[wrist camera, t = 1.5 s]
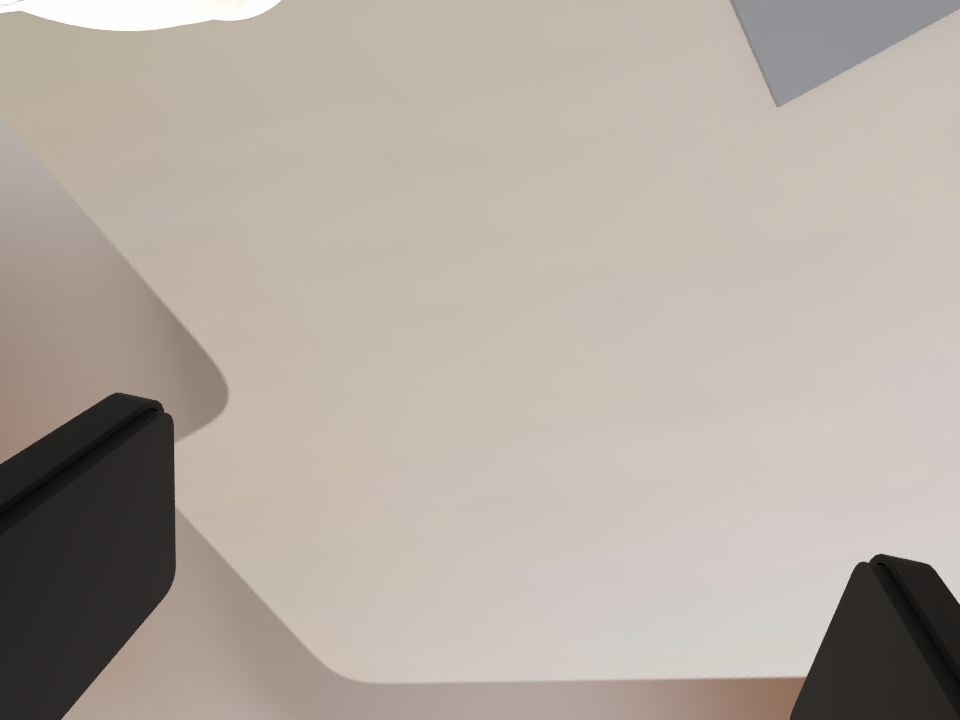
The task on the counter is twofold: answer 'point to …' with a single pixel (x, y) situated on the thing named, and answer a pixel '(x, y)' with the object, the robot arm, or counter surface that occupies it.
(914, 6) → the grey mat
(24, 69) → the counter surface
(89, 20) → the jar
